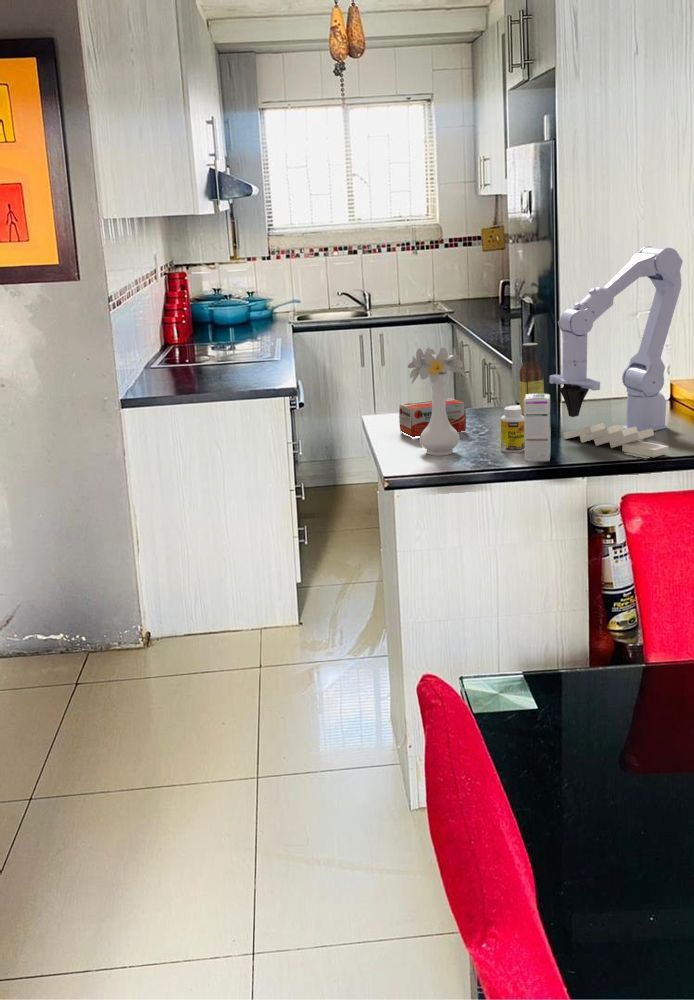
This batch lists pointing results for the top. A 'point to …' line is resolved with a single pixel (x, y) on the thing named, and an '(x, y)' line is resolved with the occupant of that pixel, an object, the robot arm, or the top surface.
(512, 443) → the supplement bottle
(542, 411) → the syrup box
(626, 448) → the domino
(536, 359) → the sauce bottle
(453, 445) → the flower vase
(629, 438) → the domino
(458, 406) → the medicine box
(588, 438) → the domino
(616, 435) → the domino
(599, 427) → the domino
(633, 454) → the felt pad
